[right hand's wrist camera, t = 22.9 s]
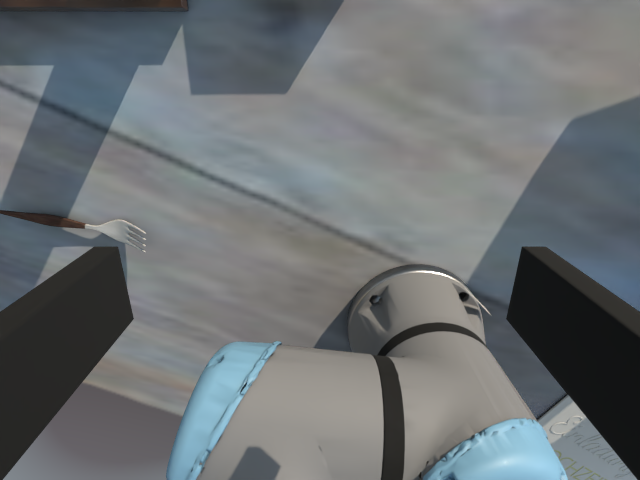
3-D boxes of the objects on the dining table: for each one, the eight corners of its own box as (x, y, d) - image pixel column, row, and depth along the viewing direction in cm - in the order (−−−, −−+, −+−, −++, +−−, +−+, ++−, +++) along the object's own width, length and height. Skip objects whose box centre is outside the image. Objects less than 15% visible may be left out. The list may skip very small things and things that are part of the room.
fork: (-3, 197, 39) (-19, 202, 37) (153, 224, 40) (145, 231, 38) (0, 220, 40) (-15, 227, 38) (153, 247, 41) (145, 254, 39)
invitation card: (488, 463, 53) (570, 395, 48) (487, 461, 53) (569, 393, 48) (590, 518, 57) (674, 461, 53) (589, 516, 57) (672, 459, 53)
